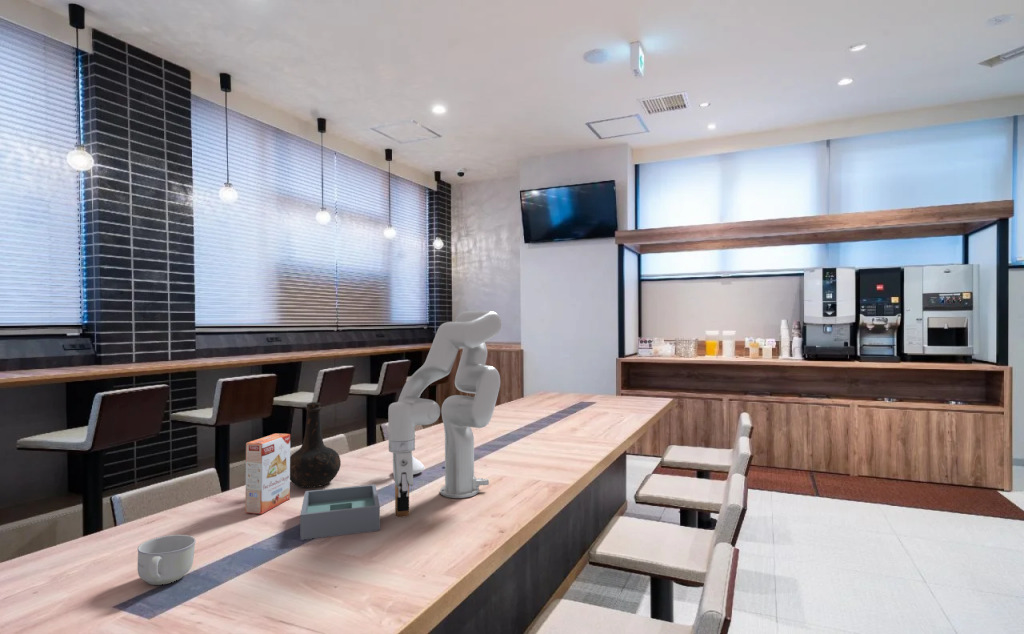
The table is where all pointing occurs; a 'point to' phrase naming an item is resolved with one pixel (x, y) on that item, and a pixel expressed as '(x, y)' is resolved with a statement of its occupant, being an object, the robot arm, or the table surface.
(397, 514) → the peg
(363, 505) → the bore box
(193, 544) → the teacup
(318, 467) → the dark brown vase
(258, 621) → the table surface
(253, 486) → the cracker box
